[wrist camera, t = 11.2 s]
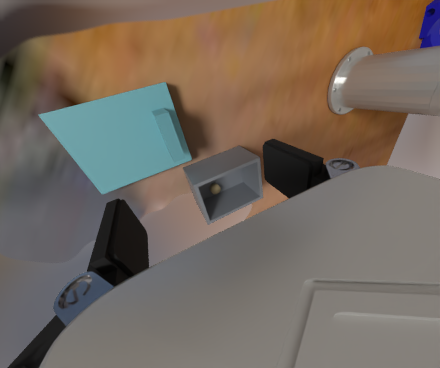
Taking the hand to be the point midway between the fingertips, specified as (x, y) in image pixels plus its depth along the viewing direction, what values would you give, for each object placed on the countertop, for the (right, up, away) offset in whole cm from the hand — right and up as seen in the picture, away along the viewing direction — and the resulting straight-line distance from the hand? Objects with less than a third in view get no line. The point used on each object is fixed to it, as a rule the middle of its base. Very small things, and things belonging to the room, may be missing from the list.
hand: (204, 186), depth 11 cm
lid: (-12, +7, +14) cm, 20 cm away
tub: (0, +2, +24) cm, 24 cm away
